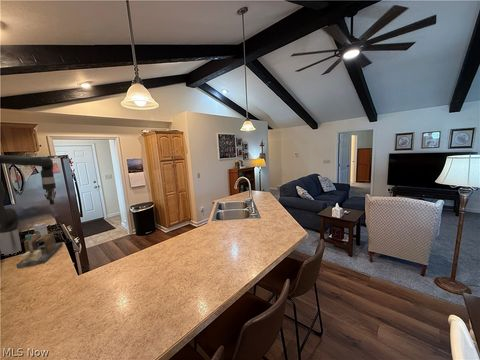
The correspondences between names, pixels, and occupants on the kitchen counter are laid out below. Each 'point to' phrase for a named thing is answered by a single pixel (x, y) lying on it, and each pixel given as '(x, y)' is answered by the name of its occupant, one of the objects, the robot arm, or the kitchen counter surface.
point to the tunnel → (46, 249)
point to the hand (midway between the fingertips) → (52, 204)
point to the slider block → (31, 252)
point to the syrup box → (40, 229)
